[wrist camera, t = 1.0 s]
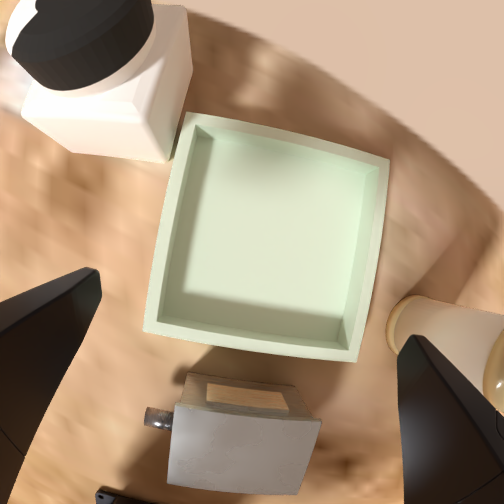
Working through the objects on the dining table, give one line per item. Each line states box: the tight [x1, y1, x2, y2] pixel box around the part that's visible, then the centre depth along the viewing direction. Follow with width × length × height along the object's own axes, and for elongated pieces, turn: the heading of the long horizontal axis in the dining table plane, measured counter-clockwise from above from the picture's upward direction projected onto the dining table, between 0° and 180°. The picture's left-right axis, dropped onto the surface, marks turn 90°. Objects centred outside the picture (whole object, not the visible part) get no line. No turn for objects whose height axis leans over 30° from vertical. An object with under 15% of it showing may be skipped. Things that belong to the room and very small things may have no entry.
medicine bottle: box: [6, 0, 193, 163], centre depth 13 cm, size 7×7×12 cm
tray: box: [143, 111, 390, 362], centre depth 19 cm, size 12×12×2 cm
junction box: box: [144, 372, 322, 495], centre depth 17 cm, size 5×9×5 cm, turn 79°
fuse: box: [386, 295, 504, 413], centre depth 16 cm, size 5×5×11 cm
